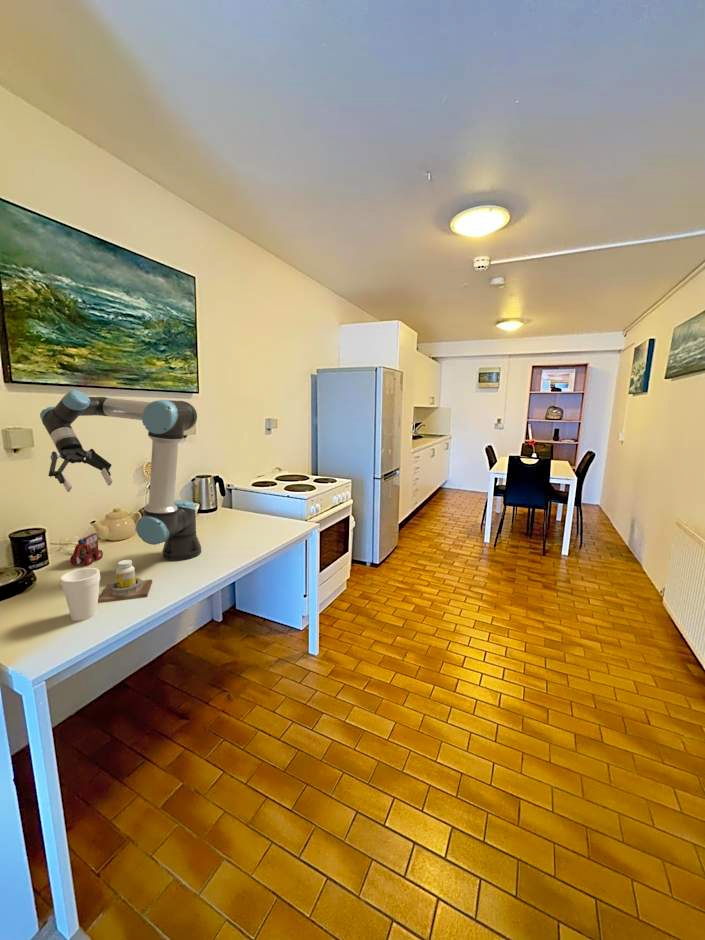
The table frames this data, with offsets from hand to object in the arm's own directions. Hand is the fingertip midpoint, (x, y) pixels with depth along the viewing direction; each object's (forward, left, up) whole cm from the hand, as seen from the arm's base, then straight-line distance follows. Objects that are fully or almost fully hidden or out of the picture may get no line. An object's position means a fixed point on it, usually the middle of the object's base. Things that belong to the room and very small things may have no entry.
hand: (90, 486), depth 140 cm
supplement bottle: (-14, +21, -32) cm, 41 cm away
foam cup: (-5, +34, -33) cm, 48 cm away
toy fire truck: (+6, -11, -33) cm, 35 cm away
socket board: (-14, +21, -33) cm, 41 cm away
